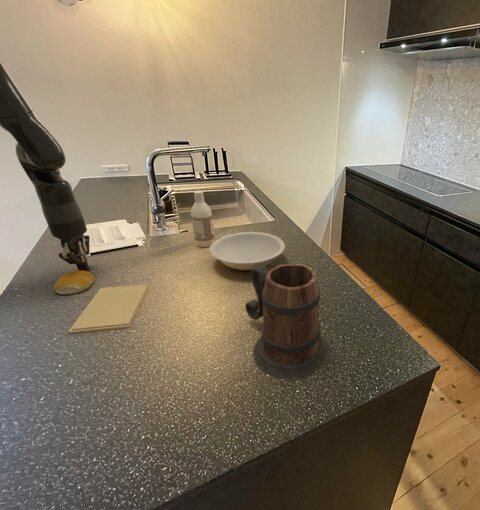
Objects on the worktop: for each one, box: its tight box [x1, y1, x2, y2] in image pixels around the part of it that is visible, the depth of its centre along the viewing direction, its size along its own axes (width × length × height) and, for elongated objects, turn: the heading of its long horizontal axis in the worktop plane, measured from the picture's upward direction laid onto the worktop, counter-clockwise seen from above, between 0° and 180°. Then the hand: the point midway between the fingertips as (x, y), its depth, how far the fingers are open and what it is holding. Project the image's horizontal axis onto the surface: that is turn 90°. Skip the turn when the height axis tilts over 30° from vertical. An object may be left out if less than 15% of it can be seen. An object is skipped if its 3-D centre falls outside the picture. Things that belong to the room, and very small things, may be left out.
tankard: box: [245, 263, 329, 380], centre depth 68 cm, size 24×17×20 cm
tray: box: [84, 219, 150, 257], centre depth 114 cm, size 20×28×4 cm
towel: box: [67, 284, 150, 335], centre depth 78 cm, size 12×18×1 cm, turn 15°
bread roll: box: [53, 269, 95, 295], centre depth 84 cm, size 8×9×4 cm
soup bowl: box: [209, 231, 286, 271], centre depth 103 cm, size 24×24×7 cm
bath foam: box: [190, 190, 216, 248], centre depth 110 cm, size 7×7×20 cm
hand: (84, 272), depth 90 cm, fingers closed
